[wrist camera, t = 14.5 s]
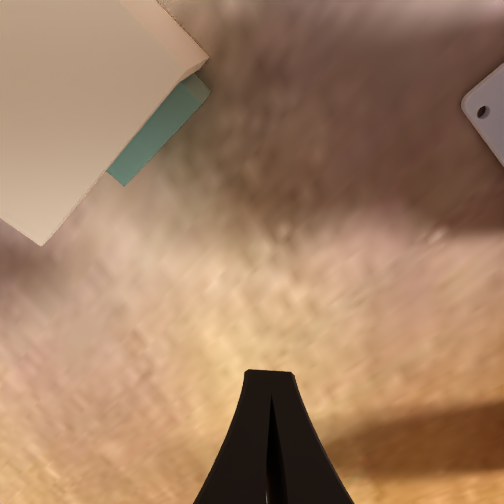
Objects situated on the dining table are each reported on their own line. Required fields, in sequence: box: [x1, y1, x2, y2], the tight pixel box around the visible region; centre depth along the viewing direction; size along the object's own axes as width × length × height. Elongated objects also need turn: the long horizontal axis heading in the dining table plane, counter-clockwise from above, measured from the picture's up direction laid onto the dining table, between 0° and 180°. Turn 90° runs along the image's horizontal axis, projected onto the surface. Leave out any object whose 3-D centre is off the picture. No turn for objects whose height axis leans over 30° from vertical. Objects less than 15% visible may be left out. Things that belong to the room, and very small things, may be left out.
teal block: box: [106, 73, 211, 186], centre depth 15 cm, size 8×4×4 cm, turn 43°
